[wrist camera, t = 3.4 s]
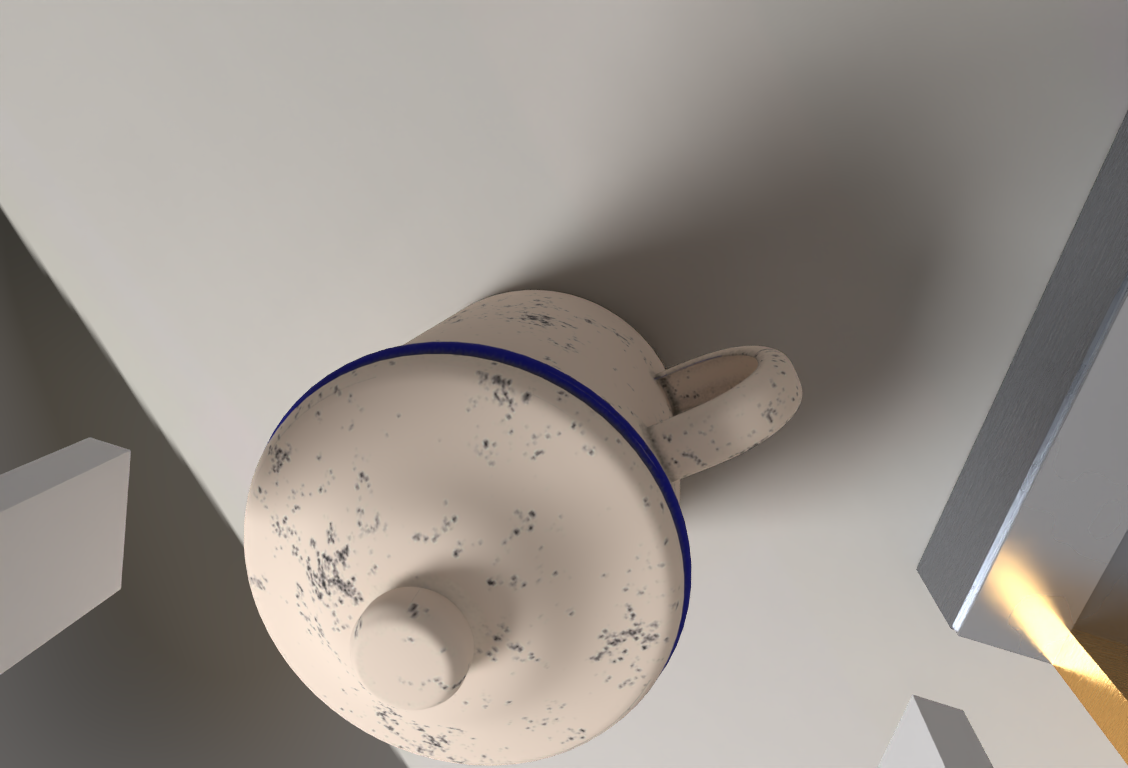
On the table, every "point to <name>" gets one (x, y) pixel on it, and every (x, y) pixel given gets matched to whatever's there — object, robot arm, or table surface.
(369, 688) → the teacup with lid
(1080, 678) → the grey tray
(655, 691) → the table surface
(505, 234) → the table surface
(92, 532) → the robot arm
